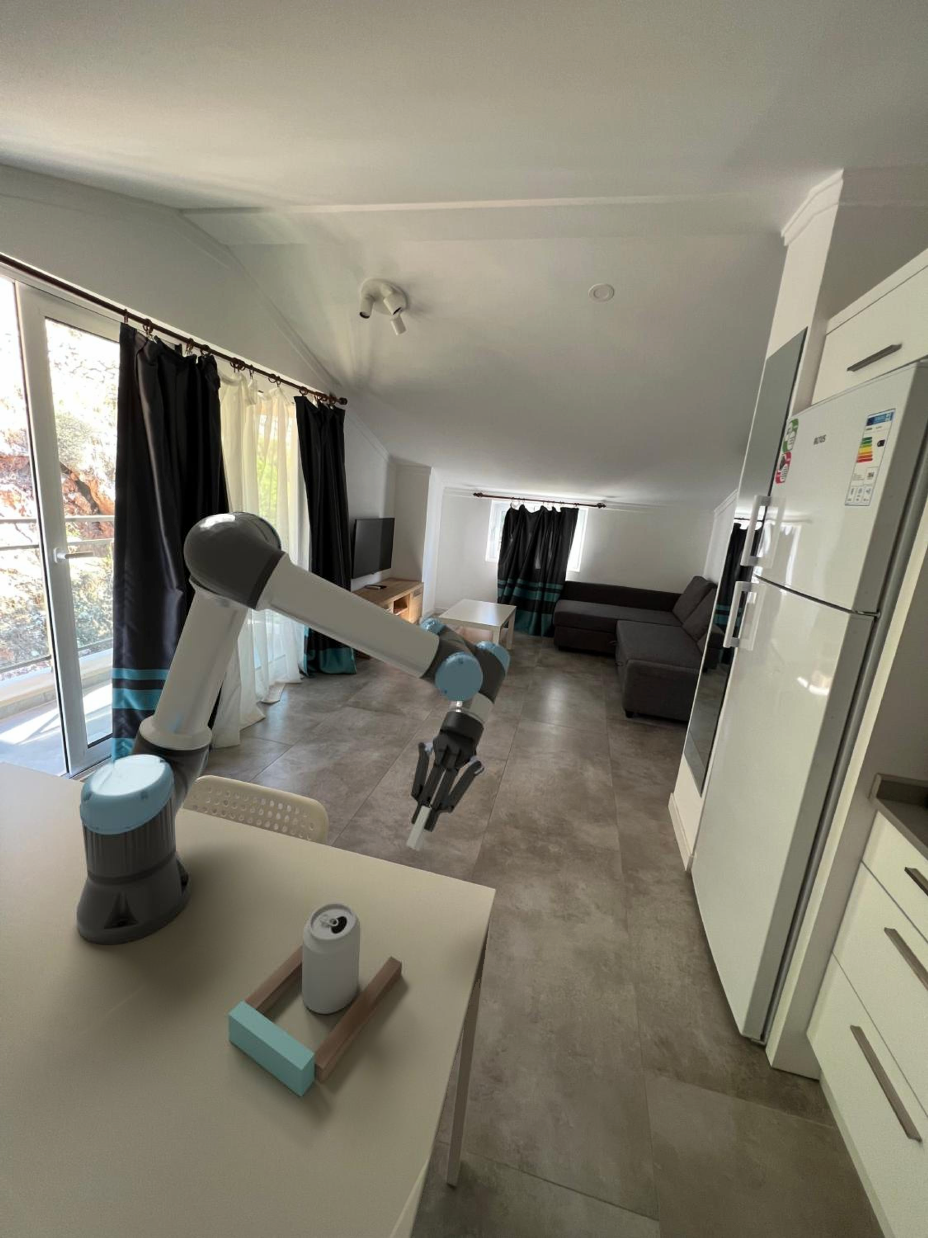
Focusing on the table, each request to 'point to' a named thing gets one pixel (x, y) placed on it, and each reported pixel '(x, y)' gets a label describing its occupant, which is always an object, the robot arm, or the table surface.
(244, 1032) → the bar
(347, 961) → the can
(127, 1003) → the table surface
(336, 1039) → the chute
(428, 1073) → the table surface
